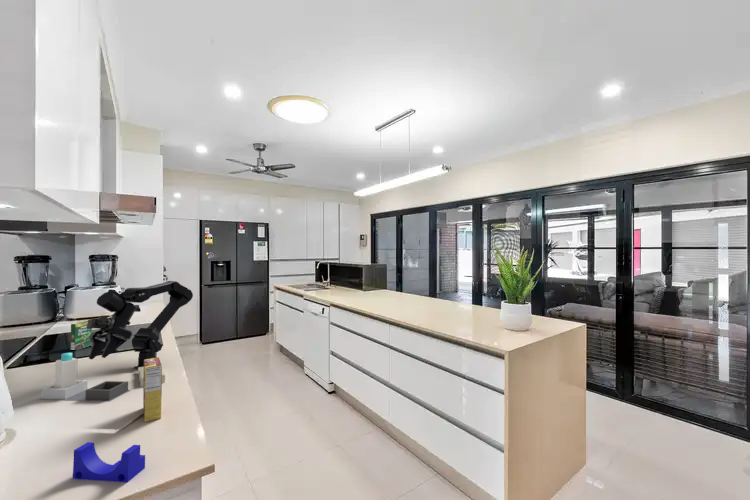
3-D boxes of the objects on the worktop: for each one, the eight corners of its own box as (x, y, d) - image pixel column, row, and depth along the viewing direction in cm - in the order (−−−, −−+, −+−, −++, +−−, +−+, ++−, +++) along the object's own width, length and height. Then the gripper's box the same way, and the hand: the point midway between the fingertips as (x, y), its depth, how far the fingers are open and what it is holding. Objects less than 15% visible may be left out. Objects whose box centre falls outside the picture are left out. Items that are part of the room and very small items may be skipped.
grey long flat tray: (64, 390, 110) (65, 379, 110) (131, 392, 110) (132, 380, 110) (36, 402, 101) (37, 389, 101) (109, 404, 101) (109, 391, 101)
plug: (69, 390, 108) (71, 351, 109) (76, 392, 107) (78, 352, 107) (54, 395, 105) (55, 354, 105) (60, 397, 103) (62, 356, 103)
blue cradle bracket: (144, 469, 71) (145, 441, 71) (127, 483, 66) (128, 453, 66) (93, 465, 71) (94, 438, 72) (72, 479, 67) (73, 450, 67)
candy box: (141, 410, 97) (143, 359, 97) (159, 407, 99) (160, 356, 100) (142, 423, 90) (144, 367, 90) (161, 418, 92) (163, 364, 93)
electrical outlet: (160, 361, 131) (165, 374, 117) (159, 371, 131) (165, 385, 117) (138, 365, 126) (141, 378, 112) (137, 375, 126) (140, 390, 112)
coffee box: (74, 351, 155) (75, 323, 155) (69, 351, 155) (70, 323, 155) (92, 347, 162) (93, 320, 163) (87, 346, 163) (88, 320, 163)
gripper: (87, 311, 123) (59, 352, 114) (112, 305, 115) (84, 348, 106) (117, 323, 131) (93, 362, 121) (142, 318, 122) (119, 359, 113)
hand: (96, 358), depth 115 cm, fingers open, 9 cm apart
